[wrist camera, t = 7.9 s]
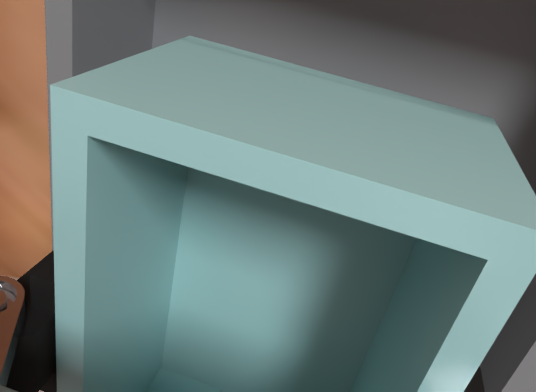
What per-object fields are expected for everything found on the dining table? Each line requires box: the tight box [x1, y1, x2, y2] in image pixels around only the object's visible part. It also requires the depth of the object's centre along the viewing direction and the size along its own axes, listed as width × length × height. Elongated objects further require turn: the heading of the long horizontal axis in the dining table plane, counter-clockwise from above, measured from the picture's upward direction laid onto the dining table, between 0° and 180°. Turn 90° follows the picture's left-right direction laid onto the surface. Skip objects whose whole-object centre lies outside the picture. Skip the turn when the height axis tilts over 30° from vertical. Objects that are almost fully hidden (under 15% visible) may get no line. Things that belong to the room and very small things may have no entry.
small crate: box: [50, 36, 536, 392], centre depth 11 cm, size 11×7×5 cm, turn 168°
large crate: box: [45, 0, 536, 392], centre depth 19 cm, size 20×20×7 cm
